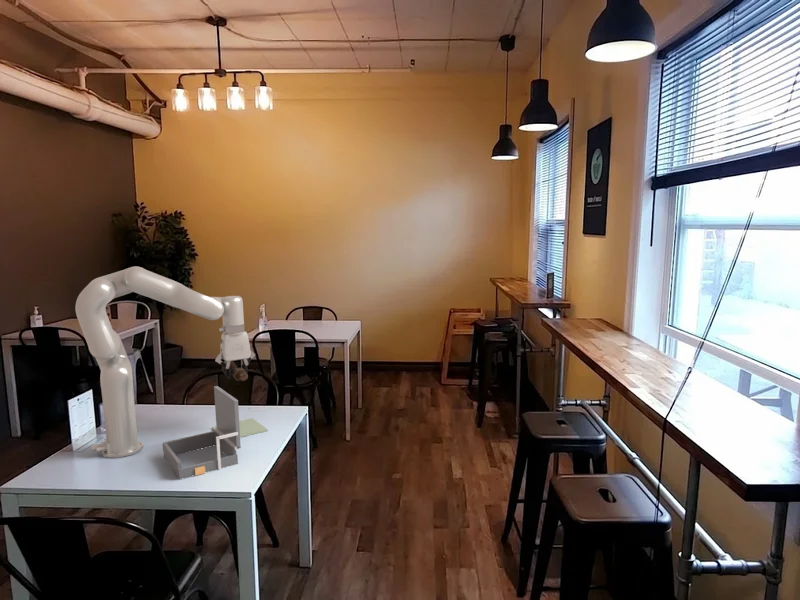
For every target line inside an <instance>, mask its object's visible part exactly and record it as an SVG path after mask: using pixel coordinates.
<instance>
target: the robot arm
mask: <svg viewBox="0 0 800 600" xmlns="http://www.w3.org/2000/svg"><path fill="white" fill-rule="evenodd" d="M131 293H136V294H138V295H141V296H144V297H148V298H150V299H151V300H155V301H158V302H161V303H163V304H165V305H168V306H170V307H173V308H177V309H180V310H183V311H184V312H187V313H190V314H192V315H195V316H198V317H200V318H201V317H202V318H204V319H206V320H210V321H216V320H219V319H220V318H221V317H222V327H219V328H218V329H219V332H220V333H221V332H222V333H221V338H220V353H218V355H217V356H216V358H215V360H214V361H215V362H216V363H218V364H220V365H221V367H225V374H224V375H225V377H226V379H228V380H231V379H232V375H231V369H230V367H229V366H230V362H231V361H233V362H234V361H240V360H241V362H242V364H241V368H243V369H244V370H245V372H246V373H247V374H248V366H249V364H250V362H251V361H252V360H253V359H254V358H255V357H256V353H254V351H252V349H251V344H250V338H249V334H248V332H247V331H245V320H244V319H245V318H244V317H245V316H244V302H243V298H242V297H241V295H227V296H208V295H206V294H203V293H201V292H197V291H195V290H193V289H191V288H189V287H187V286H185V285H184V284H182V283H180V282H178V281H175V280H173V279H171V278H168V277H165V276H163V275H160V274H158V273H155V272H153V271H150V270H147V269H145V268H144V267H142V266H141V267H140V266H135V265H134V266H130V267H128V268H125V269H123V270H118V271H115V272H112V273H110V274H106V275H102V276H99V277H96V278H94V279H93V280H91V281H90V282H89V283H88V284H87V285H86V286H85V287H84V288H83V289H82V290H81V292H79V295H78V296H77V299H76V301H75V314H76V318H77V320H78V323H79V326H80V328H81V331H82V334H83V336H84V339H85V341H86V343H87V344H86V345H87V347H88V351H89V353H90V354H91V355H92V356H93V358H95V360H96V362H97V365H98V367H99V370H100V375H99V376H100V377H99V381H100V388H101V389H100V390H101V398H102V399H101V400H102V406H103V407H102V408H103V409H102V410H103V419H104V429H105V439H104V441H101V443H98V444H97V443H96V444H92V445H90V449H91V450H90V451H92V452H94V451H96V452H97V453H98V452H101V453H102V455H103V457H106V458H110V459H112V458H113V459H115V458H124V457H127V456H131V455H135V454H137V453H138V452H140V451H142V449H143V448H144V443H143V442H142V441H140V440H138V430H137V415H136V405H135V395H134V394H135V393H134V392H135V391H134V377H133V369H132V368H133V367H132V363H131V361H130V358H129V357H128V356H129V355H127V351H126V349H125V347H124V344H123V342H122V339H121V337H120V335H119V334H118V333H117V332H116V331H115V330H114V329H113V326H112V323H111V322H110V319H109V316H108V313H107V311H106V307H107V305H108V304H109V303H110V302H111V301H112V300H113V299H116V298H119V297H122V296H125V295H128V294H131ZM222 360H224V361H222Z"/></svg>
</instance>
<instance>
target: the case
mask: <svg viewBox="0 0 800 600" xmlns="http://www.w3.org/2000/svg"><path fill="white" fill-rule="evenodd" d="M213 390H214V391H213V393H214V406H215V407H214V409H215V424H216V427H217V428H215V431H214V430H212V431H207V432H203V433H199V434H194V435H190V436H187V437H186V436H185V437H181V438H177V439H173V440H169V441H164V442H162V452H163V453H162V455H163V458H164V460H165V461H166V463H167V464H168V465H169V467H170V466H171V467H170V468H171V470H172V471H173V470H174V471H173V472H174V473H176V474H175V476H177V478H178V477H179V478H178V479H179V480H183V479H182V478H184V479H187V478H190V477H189V476H191V477H193V476H192V475H195V476H198V475H202V474H206V473H209V472H212V470H213V471H216V469H217V470H218V469H220V470H222V469H224V468H226V467H227V466H228V467H232V466H234V465H237V464H239V460H238V459H239V458H238V456H239V455H238V454H237V451H240V449H241V447H242V446H241V438H240V427H239V421H240V412H239V400H238V399H237V398H236V397H234V396H232V395H231V394H230V393H228V392H227V391H225V390H224V389H223V388H221V387H219V386H218V385H215V386H213ZM213 445H215V447H216V459H212V460H208V461H204V462H200V463H196V464H192V465H188V466H185V467H182V461H181V459H180V458H179V457H178V455H181V454H186V452H187V453H190V452H189V451H191V452H194V451H193V450H195V451H198V450H197V449H199V450H202V449H201V448H203V449H206V448H205V447H207V448H210V447H209V446H211V447H214V446H213ZM223 452H224V453H223ZM221 453H223V454H224V456H222V457H221ZM223 467H224V468H223ZM208 471H209V472H208ZM205 472H206V473H205ZM186 477H187V478H186Z"/></svg>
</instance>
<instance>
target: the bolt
mask: <svg viewBox="0 0 800 600" xmlns="http://www.w3.org/2000/svg"><path fill="white" fill-rule="evenodd" d="M229 367H230V369H231V376H232V377H233V378H234V380H235V381H236V382H237V381H238V382H239V381H240V382H241V381H242V382H245V381H246V380H248V377H249V375H248V373H246V372H245V370H244V369H243V368H242V367H238V366H237V365H236V363H235V362H234V361H231V362H230V366H229ZM221 371H222V373H223V374H224V375H225V367H223V366H221Z"/></svg>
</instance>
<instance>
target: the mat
mask: <svg viewBox="0 0 800 600" xmlns="http://www.w3.org/2000/svg"><path fill="white" fill-rule="evenodd" d="M239 427H240V437H241V438H245V437H248V435H249V436H252V435H253V434H254V435H257V433H258V434H262V433H265V432H268V431H269V430H268V428H267V427H265V426H263V425H262V424H261V423H260V422H258V421H257V420H255V419H254V418H253V417H251V418H246V419H243V420H242V419H241V420H239ZM215 428H217V427H216V426H212V427H211V430H212V431H215ZM244 436H245V437H244Z"/></svg>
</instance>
